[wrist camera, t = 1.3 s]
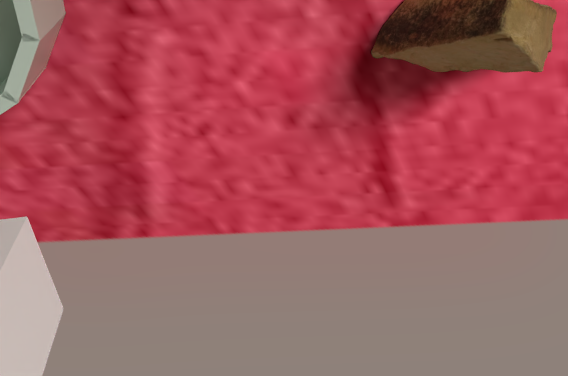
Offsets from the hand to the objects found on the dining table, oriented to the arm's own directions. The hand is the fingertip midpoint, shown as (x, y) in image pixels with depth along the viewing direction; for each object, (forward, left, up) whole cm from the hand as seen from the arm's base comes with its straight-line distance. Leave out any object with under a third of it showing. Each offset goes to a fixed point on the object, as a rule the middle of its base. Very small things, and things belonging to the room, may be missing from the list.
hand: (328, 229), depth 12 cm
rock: (+2, +14, -25) cm, 28 cm away
